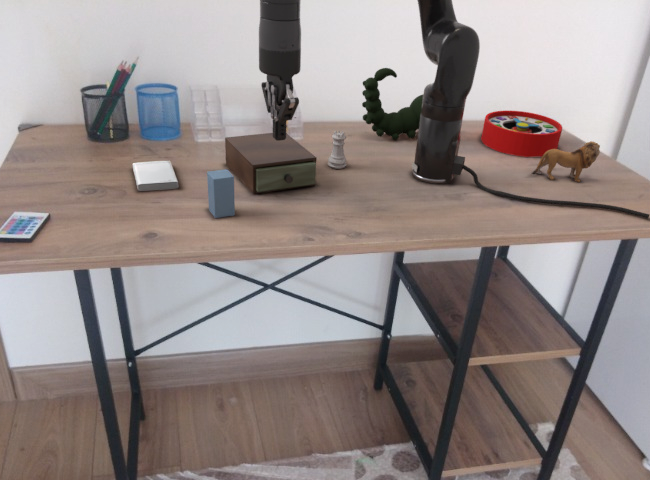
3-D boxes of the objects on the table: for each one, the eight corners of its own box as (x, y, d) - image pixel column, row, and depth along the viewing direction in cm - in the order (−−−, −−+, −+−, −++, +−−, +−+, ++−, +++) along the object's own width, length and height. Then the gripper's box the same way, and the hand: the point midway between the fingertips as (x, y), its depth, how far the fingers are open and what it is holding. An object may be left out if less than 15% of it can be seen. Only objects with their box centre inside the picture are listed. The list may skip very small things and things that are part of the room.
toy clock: (500, 134, 160) (475, 109, 176) (495, 156, 163) (471, 130, 180) (575, 135, 163) (544, 111, 179) (569, 157, 166) (539, 131, 183)
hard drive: (178, 181, 134) (170, 159, 144) (137, 184, 131) (131, 162, 141) (178, 188, 135) (170, 166, 144) (138, 192, 132) (132, 169, 142)
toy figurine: (369, 150, 166) (459, 139, 171) (369, 75, 156) (465, 65, 160) (359, 137, 174) (445, 127, 179) (358, 65, 163) (451, 56, 168)
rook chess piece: (344, 170, 149) (346, 136, 145) (325, 168, 149) (327, 134, 145) (348, 163, 153) (350, 130, 148) (329, 161, 153) (331, 128, 149)
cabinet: (315, 185, 141) (316, 157, 137) (253, 194, 135) (252, 165, 131) (283, 157, 153) (284, 131, 150) (225, 164, 147) (224, 137, 144)
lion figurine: (586, 174, 156) (597, 138, 152) (595, 183, 152) (606, 146, 147) (527, 172, 155) (536, 135, 151) (534, 180, 151) (543, 143, 146)
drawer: (317, 186, 138) (318, 165, 136) (259, 194, 133) (259, 172, 130) (285, 157, 151) (285, 138, 149) (231, 164, 146) (230, 144, 143)
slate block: (234, 215, 126) (234, 176, 122) (215, 218, 124) (213, 179, 120) (228, 207, 129) (227, 169, 124) (208, 209, 127) (206, 171, 123)
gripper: (314, 51, 112) (311, 148, 121) (284, 36, 121) (283, 126, 131) (274, 54, 109) (274, 152, 118) (247, 37, 118) (248, 130, 128)
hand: (279, 138), depth 124 cm, fingers closed
